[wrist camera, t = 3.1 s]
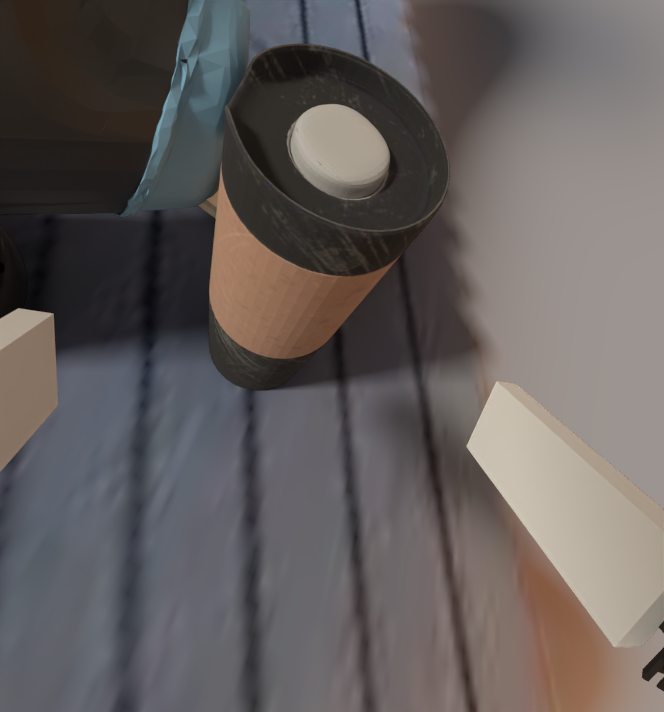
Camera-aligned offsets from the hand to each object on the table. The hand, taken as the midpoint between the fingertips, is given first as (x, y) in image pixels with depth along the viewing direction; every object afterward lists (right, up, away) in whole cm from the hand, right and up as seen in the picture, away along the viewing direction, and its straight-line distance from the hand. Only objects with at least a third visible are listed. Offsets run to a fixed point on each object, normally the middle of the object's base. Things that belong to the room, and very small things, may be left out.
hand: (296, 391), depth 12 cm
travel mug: (-5, +2, +18) cm, 19 cm away
